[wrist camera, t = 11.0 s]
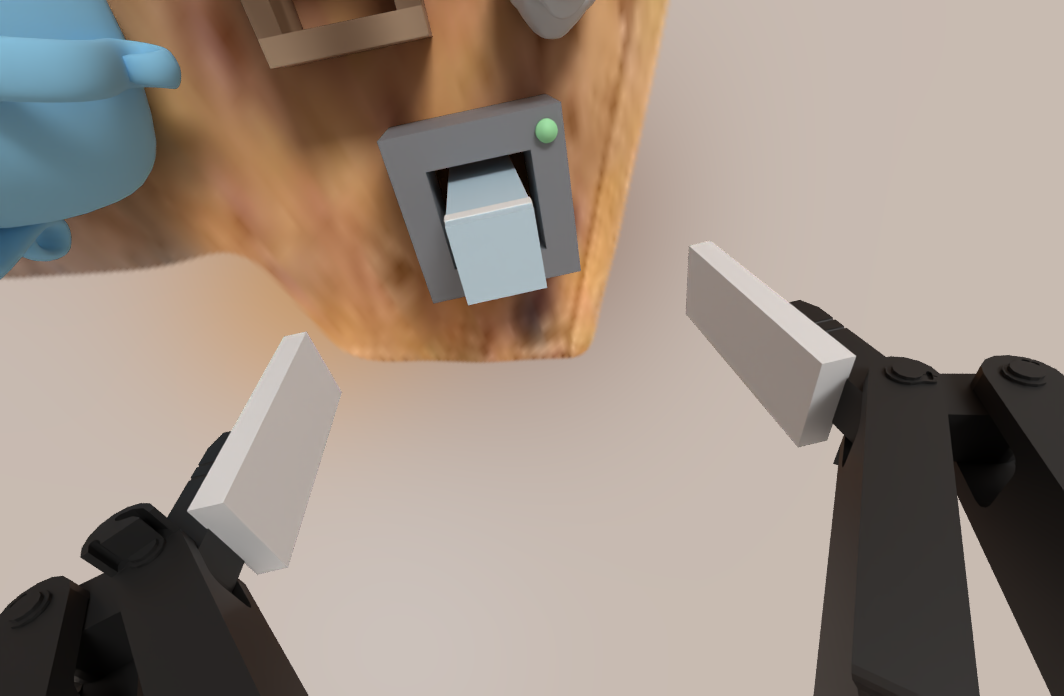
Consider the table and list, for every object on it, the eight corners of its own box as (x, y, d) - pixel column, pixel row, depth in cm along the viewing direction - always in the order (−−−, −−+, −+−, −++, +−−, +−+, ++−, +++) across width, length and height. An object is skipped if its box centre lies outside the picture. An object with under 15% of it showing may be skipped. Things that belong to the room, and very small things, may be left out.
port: (436, 271, 33) (433, 305, 29) (388, 127, 27) (376, 142, 23) (565, 243, 33) (581, 272, 29) (545, 93, 28) (561, 102, 23)
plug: (448, 166, 29) (443, 226, 19) (508, 153, 29) (534, 206, 19) (464, 225, 32) (467, 306, 22) (520, 213, 32) (548, 288, 22)
